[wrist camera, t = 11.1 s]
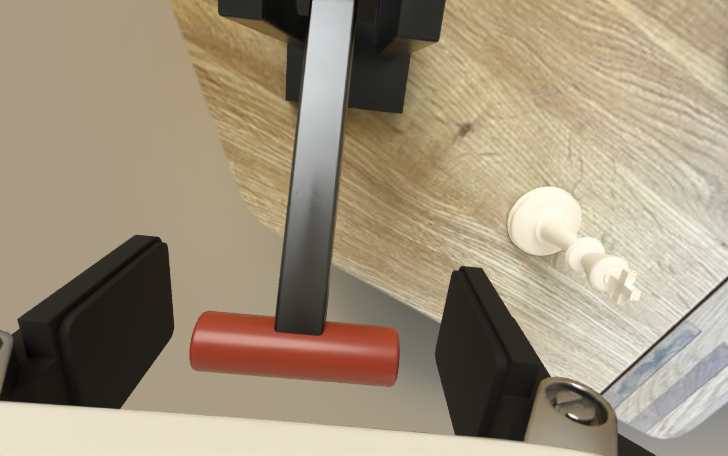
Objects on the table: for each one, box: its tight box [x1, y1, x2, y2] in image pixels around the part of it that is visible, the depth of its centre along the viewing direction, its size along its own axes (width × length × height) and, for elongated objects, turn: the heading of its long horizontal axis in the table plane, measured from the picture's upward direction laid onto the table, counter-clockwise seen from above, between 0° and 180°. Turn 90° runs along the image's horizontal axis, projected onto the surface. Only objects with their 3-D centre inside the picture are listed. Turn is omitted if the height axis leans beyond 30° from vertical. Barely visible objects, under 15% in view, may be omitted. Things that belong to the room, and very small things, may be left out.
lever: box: [190, 0, 400, 387], centre depth 9 cm, size 12×4×2 cm, turn 174°
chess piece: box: [507, 187, 641, 305], centre depth 23 cm, size 5×5×10 cm
